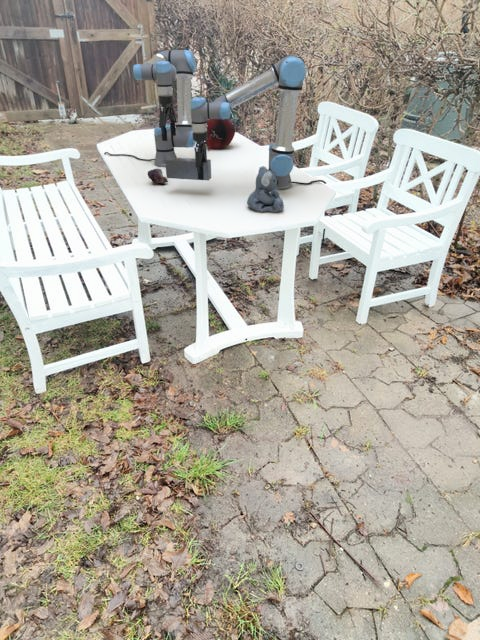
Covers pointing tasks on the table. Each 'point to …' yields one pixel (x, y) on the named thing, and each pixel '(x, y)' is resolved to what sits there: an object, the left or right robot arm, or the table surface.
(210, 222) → the table surface
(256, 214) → the table surface
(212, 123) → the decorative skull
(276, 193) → the koala plush
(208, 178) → the bar
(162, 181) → the rock
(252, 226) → the table surface
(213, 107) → the right robot arm
